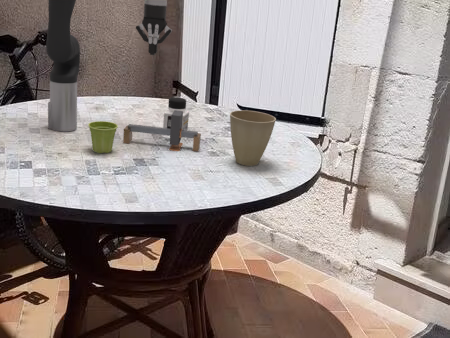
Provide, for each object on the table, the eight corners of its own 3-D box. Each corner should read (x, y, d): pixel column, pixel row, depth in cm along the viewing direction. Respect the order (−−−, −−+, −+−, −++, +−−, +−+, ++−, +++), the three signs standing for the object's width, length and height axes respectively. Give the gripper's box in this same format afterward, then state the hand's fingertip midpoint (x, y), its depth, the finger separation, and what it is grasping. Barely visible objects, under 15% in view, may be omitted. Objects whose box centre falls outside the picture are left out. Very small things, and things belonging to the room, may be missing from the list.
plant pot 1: (122, 149, 185) (123, 124, 182) (107, 157, 177) (108, 130, 174) (97, 144, 188) (98, 119, 185) (81, 151, 179) (82, 125, 177)
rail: (121, 144, 190) (122, 126, 188) (127, 137, 199) (128, 120, 197) (197, 153, 190) (199, 135, 187) (200, 145, 198) (201, 128, 196)
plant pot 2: (255, 173, 176) (262, 124, 171) (216, 161, 183) (221, 114, 178) (277, 163, 188) (283, 117, 183) (239, 152, 195) (244, 107, 190)
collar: (169, 144, 190) (171, 115, 187) (172, 138, 197) (174, 110, 193) (178, 145, 190) (180, 116, 187) (180, 139, 197) (183, 111, 193)
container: (182, 135, 208) (184, 101, 203) (162, 132, 209) (164, 98, 205) (187, 130, 215) (190, 97, 211) (168, 127, 216) (170, 94, 212)
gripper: (133, 1, 187) (131, 54, 192) (173, 6, 186) (169, 58, 192) (138, 0, 194) (136, 51, 199) (176, 4, 193) (173, 55, 199)
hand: (152, 54), depth 196 cm, fingers closed
